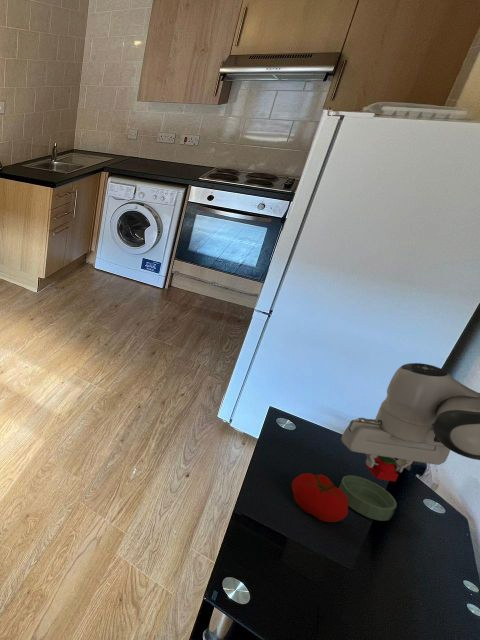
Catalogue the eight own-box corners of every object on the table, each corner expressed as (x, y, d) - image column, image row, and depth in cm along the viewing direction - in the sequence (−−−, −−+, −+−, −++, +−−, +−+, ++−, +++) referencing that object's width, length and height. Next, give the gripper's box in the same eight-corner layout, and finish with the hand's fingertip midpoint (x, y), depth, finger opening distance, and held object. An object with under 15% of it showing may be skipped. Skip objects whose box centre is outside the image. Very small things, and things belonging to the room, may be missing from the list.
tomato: (338, 537, 103) (349, 510, 100) (282, 504, 112) (291, 478, 109) (347, 513, 110) (357, 488, 107) (293, 484, 118) (301, 460, 116)
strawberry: (383, 469, 105) (390, 454, 104) (395, 481, 102) (402, 466, 100) (365, 466, 106) (371, 451, 105) (377, 478, 102) (383, 463, 101)
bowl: (372, 491, 117) (377, 479, 115) (402, 526, 106) (408, 513, 105) (328, 483, 119) (333, 472, 118) (353, 517, 109) (358, 504, 107)
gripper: (361, 425, 98) (344, 470, 102) (463, 439, 94) (441, 485, 98) (344, 408, 104) (328, 451, 108) (439, 421, 100) (419, 465, 104)
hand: (383, 468), depth 103 cm, fingers closed on strawberry, 4 cm apart
